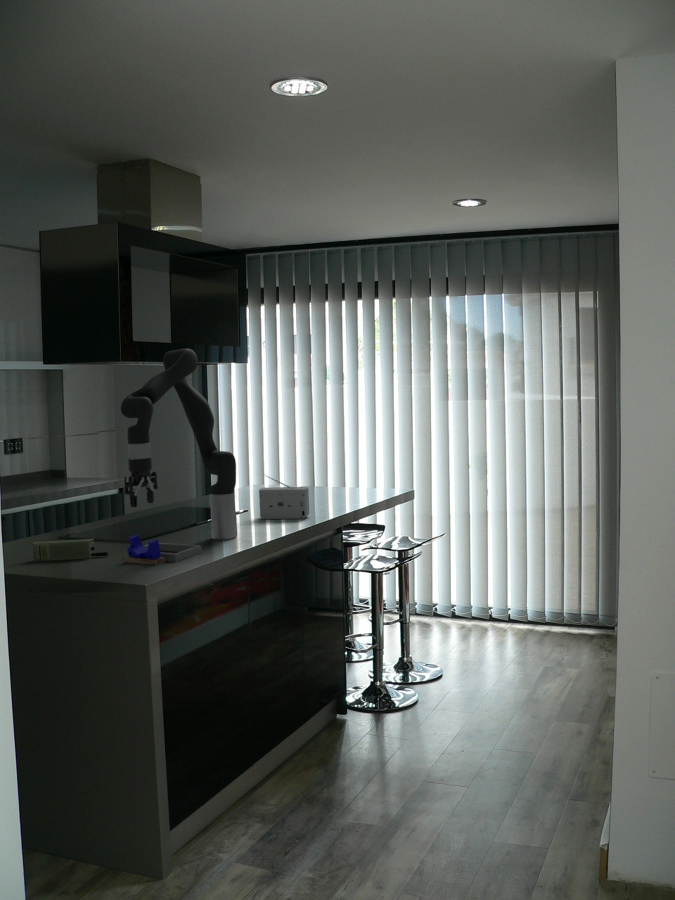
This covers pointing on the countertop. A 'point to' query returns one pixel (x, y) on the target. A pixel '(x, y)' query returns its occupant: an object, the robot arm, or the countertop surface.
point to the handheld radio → (64, 550)
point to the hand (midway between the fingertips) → (142, 504)
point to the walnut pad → (144, 560)
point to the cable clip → (143, 549)
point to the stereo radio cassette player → (284, 502)
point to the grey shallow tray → (182, 550)
